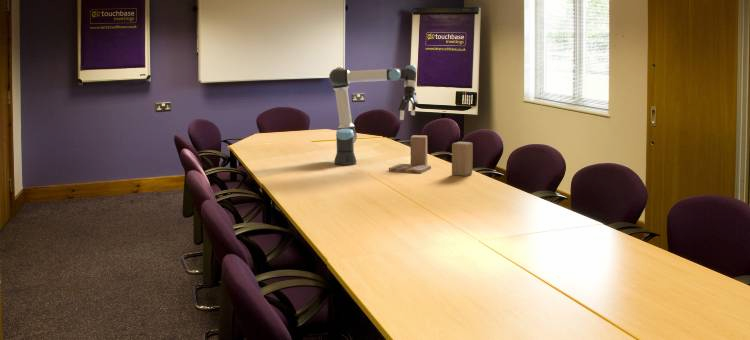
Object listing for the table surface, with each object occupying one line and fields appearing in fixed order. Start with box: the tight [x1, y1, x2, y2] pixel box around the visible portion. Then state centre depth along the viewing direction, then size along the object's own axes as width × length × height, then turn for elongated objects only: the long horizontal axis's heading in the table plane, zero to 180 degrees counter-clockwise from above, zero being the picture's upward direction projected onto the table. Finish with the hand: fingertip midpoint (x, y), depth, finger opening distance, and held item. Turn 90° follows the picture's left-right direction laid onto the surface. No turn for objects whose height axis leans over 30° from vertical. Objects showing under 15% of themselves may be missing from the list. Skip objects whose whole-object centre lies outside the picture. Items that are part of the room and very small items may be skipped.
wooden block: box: [410, 134, 428, 165], centre depth 468 cm, size 10×10×20 cm
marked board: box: [388, 163, 432, 174], centre depth 455 cm, size 22×18×2 cm
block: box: [451, 141, 474, 177], centre depth 436 cm, size 10×10×20 cm
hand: (407, 117), depth 472 cm, fingers open, 13 cm apart
